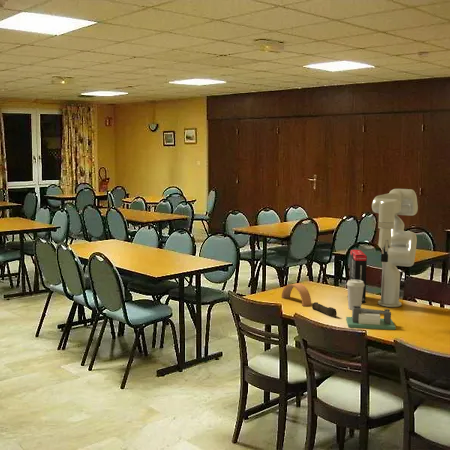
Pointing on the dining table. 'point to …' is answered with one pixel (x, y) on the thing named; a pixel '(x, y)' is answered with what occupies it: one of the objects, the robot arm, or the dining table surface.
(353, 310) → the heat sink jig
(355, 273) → the graphics card box
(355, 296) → the coffee cup
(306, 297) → the arch
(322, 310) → the hand tool
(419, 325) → the dining table surface
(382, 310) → the steel strap
